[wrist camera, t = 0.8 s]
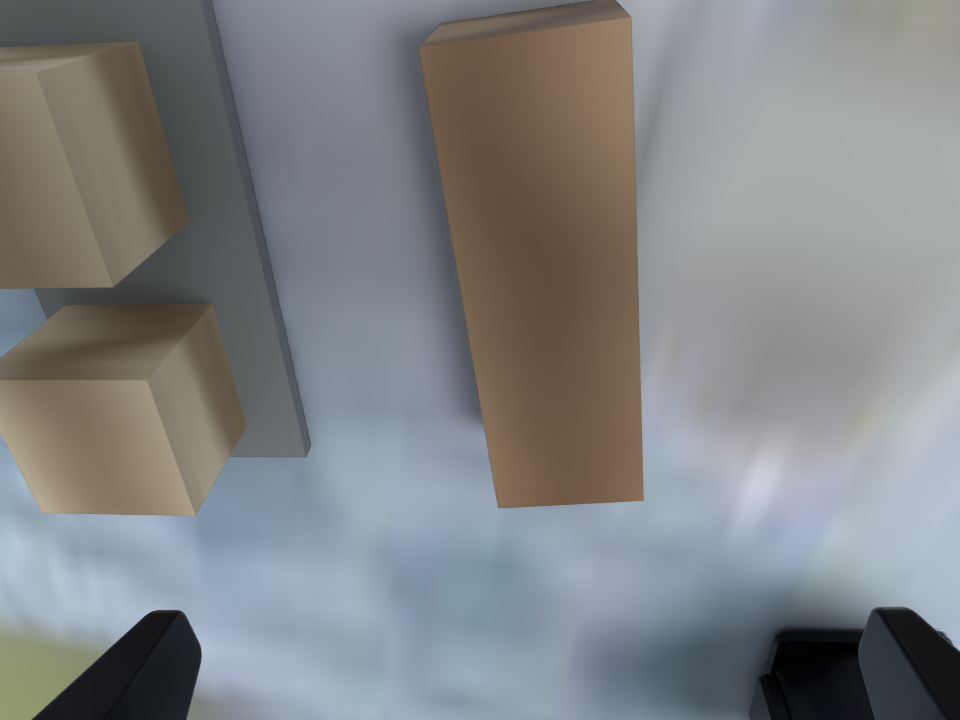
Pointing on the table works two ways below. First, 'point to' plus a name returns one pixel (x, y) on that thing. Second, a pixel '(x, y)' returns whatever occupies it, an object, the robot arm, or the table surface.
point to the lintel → (545, 242)
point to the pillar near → (81, 166)
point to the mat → (191, 200)
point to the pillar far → (121, 409)
